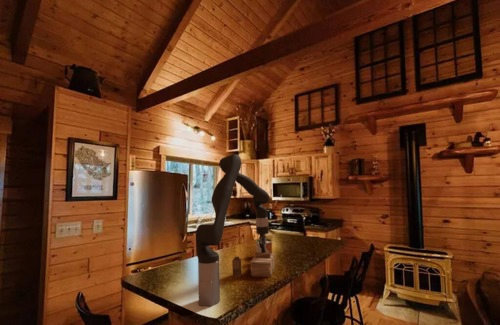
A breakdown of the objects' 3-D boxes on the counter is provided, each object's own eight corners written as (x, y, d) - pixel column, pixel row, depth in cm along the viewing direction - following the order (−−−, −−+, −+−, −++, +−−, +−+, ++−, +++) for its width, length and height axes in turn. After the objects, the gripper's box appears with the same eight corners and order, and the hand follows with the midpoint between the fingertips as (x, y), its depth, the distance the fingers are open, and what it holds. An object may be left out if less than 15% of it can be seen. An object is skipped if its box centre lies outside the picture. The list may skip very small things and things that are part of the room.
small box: (262, 264, 166) (261, 243, 167) (257, 262, 171) (256, 242, 173) (272, 262, 171) (271, 241, 172) (266, 260, 176) (266, 240, 177)
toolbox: (270, 277, 142) (270, 264, 143) (251, 276, 144) (250, 263, 145) (274, 267, 159) (274, 255, 160) (257, 266, 162) (256, 255, 163)
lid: (269, 263, 142) (269, 257, 143) (250, 263, 145) (250, 256, 145) (274, 255, 160) (274, 249, 160) (256, 255, 162) (256, 249, 163)
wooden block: (239, 277, 144) (239, 258, 145) (232, 276, 145) (232, 258, 146) (241, 274, 148) (240, 256, 149) (234, 274, 149) (234, 256, 150)
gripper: (258, 223, 164) (259, 252, 162) (253, 226, 151) (255, 257, 150) (270, 223, 163) (271, 252, 161) (266, 226, 150) (267, 257, 148)
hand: (263, 254), depth 155 cm, fingers closed
